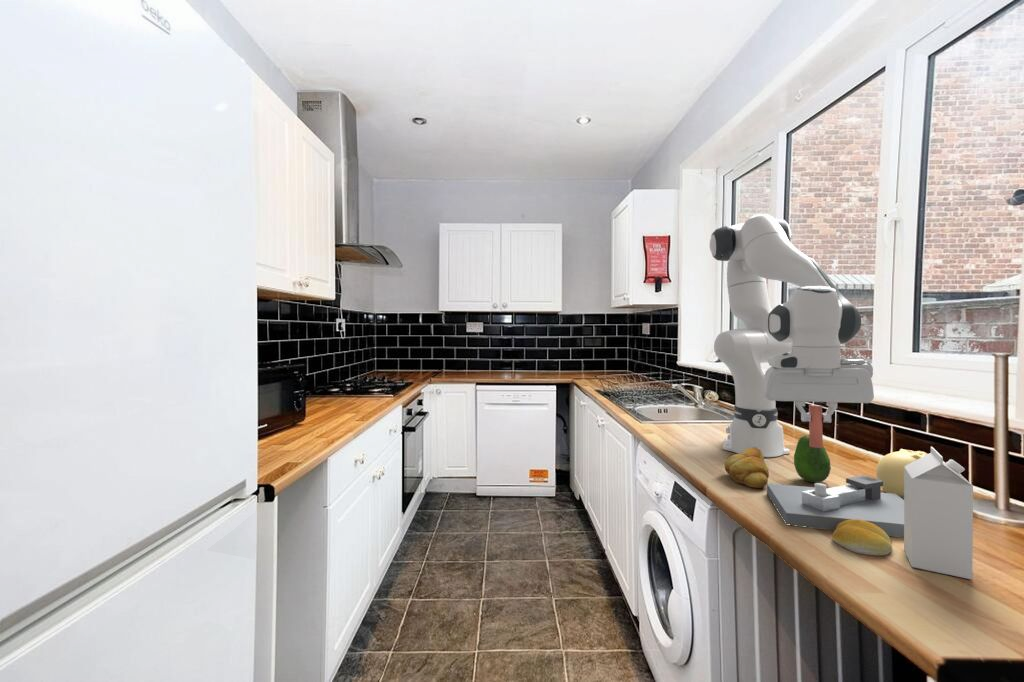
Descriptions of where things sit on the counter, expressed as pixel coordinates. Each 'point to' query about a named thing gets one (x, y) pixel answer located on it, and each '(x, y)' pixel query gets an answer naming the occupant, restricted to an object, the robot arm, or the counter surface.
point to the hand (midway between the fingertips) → (815, 421)
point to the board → (875, 508)
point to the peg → (815, 426)
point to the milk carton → (938, 516)
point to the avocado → (811, 461)
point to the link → (834, 497)
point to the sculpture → (895, 469)
